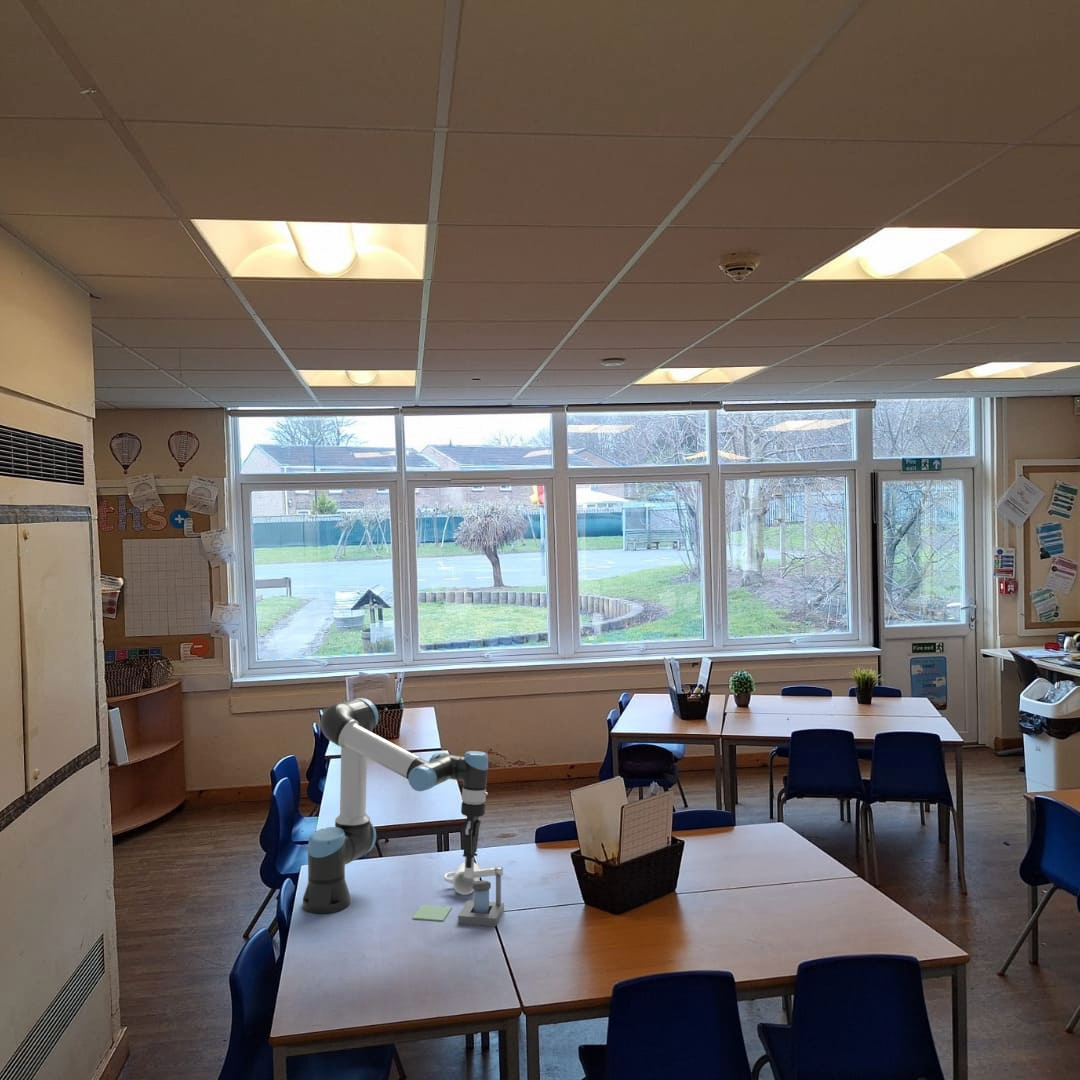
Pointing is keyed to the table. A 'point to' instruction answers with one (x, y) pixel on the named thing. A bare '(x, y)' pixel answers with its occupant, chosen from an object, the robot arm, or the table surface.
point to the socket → (480, 918)
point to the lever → (488, 872)
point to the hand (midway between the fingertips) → (468, 877)
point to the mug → (462, 880)
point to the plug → (481, 896)
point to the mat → (432, 913)
